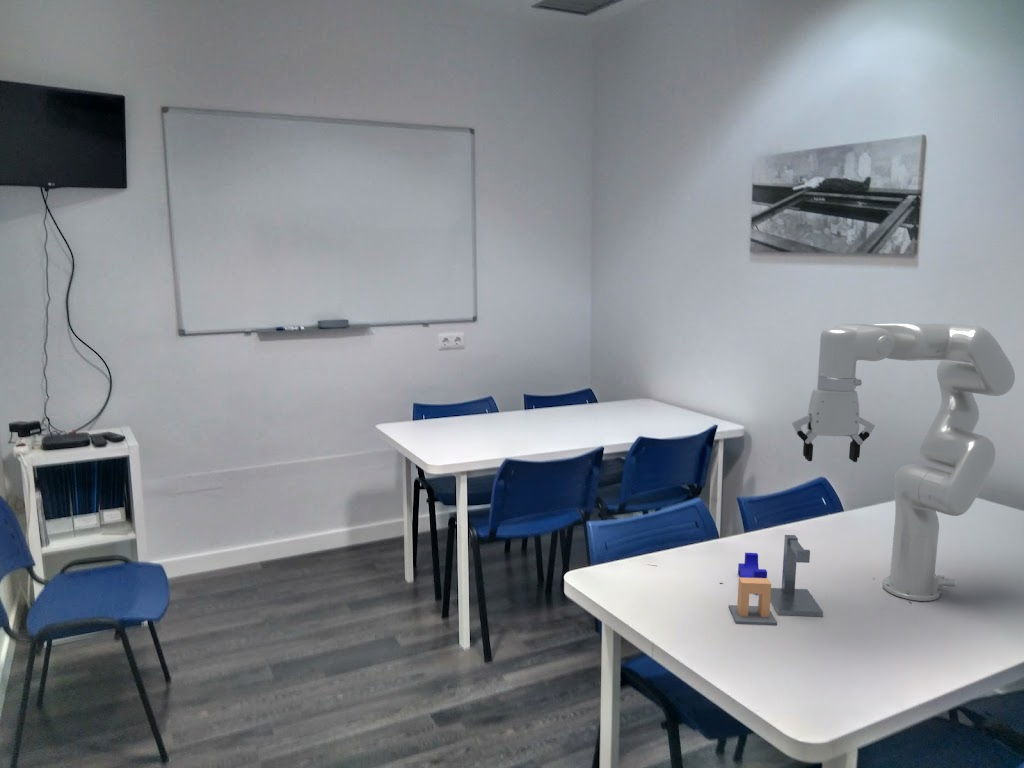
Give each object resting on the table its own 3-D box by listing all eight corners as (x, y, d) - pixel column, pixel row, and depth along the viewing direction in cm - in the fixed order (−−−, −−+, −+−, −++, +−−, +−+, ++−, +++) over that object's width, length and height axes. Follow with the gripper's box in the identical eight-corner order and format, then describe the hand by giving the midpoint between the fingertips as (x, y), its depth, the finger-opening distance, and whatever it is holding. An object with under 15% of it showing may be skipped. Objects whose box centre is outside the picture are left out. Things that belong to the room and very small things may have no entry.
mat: (767, 608, 176) (768, 606, 176) (776, 625, 168) (777, 622, 168) (728, 607, 177) (728, 605, 177) (735, 623, 169) (735, 621, 169)
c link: (765, 611, 174) (767, 578, 173) (769, 617, 171) (771, 583, 170) (737, 610, 174) (738, 577, 173) (739, 616, 171) (741, 582, 170)
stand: (806, 593, 184) (811, 533, 182) (822, 616, 172) (827, 552, 170) (764, 592, 185) (768, 532, 182) (777, 615, 173) (781, 551, 171)
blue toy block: (737, 574, 196) (739, 552, 195) (755, 575, 196) (757, 553, 195) (746, 594, 184) (748, 571, 183) (765, 595, 184) (767, 571, 183)
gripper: (870, 382, 169) (864, 456, 171) (790, 381, 170) (786, 455, 173) (883, 387, 161) (877, 465, 164) (800, 386, 163) (795, 464, 165)
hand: (830, 460), depth 168 cm, fingers open, 9 cm apart
